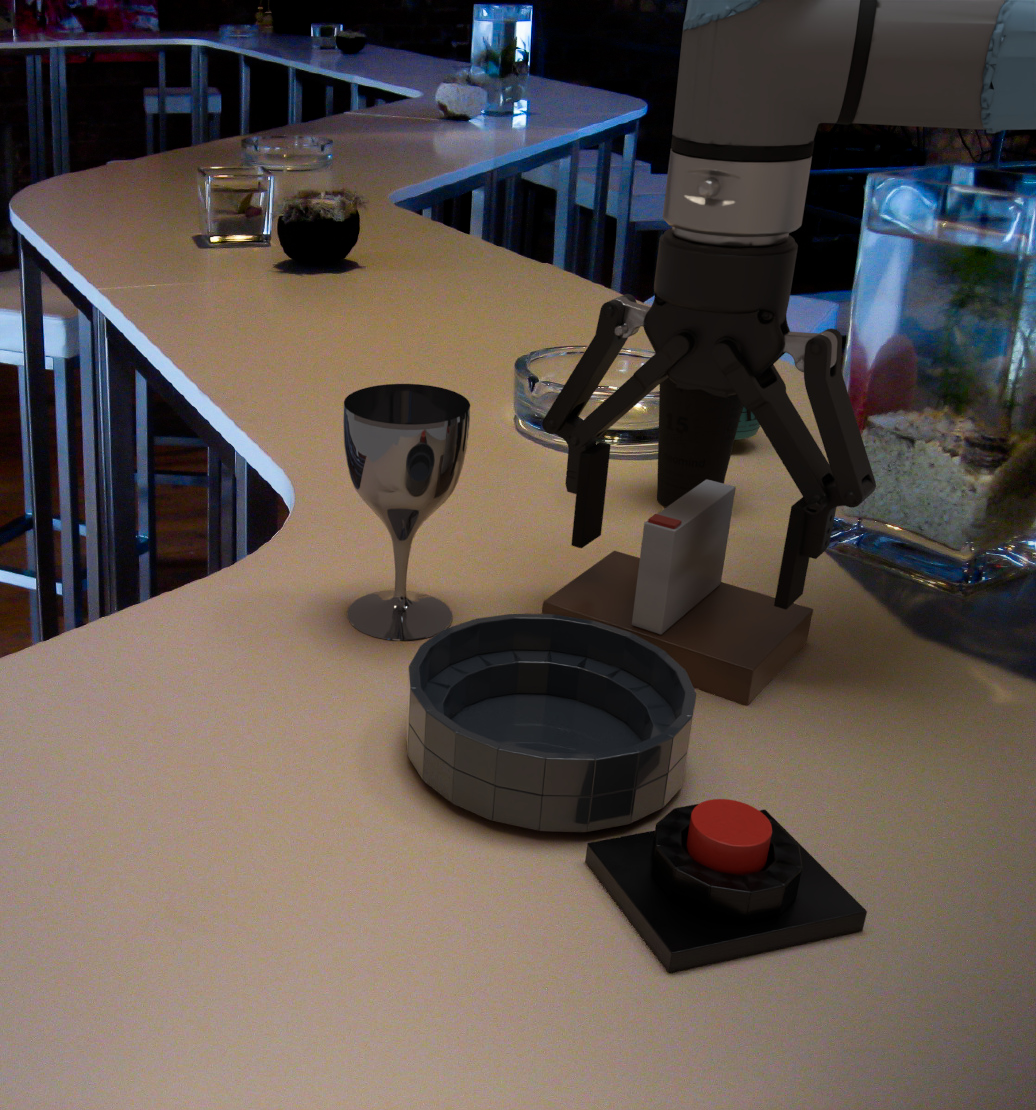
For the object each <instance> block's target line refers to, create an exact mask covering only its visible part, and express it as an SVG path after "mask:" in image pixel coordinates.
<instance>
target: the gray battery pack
mask: <svg viewBox="0 0 1036 1110" xmlns="http://www.w3.org/2000/svg"><path fill="white" fill-rule="evenodd" d="M735 495H736V486H734V485H731V484H727V483H724V484H723V483H719V482H715V481H711V480H707V479H706V480H705V481H703V482H702V483H701V484H699V485H698V486H696V487H695V488H693V489H692V490H691V491H689V492H688V493H686V494H685V495H683V496H682V497H681V498H679V499H678V500H676V501H675V502H673V503H672V504H671V505H669V506H668V507H665V508H664V509H662V510H661V511H659V512H658V513H655V514H653V515H651V516H650V517H649V518H647V520H646V521H645V522H644V523H643V529H642V538H641V546H640V554H639V558H640V561H639V570H638V578H637V586H636V594H635V602H634V610H633V618H632V625H633V626H636V627H639V628H642V629H645V630H648V631H651V632H654V633H657V634H663V633H664V632H665V631H666V630H667V629H668V628H670V627H671V626H672V625H673V624H674V623H675V622H677V621H678V620H679V619H680V618H681V617H683V616H684V615H685V614H686V613H687V612H688V611H690V610H691V609H692V608H693V607H694V606H695V605H697V604H698V603H699V602H700V601H701V600H702V599H704V598H705V597H706V596H707V595H708V594H710V593H711V592H712V591H713V590H714V589H715V588H717V587H718V586H719V585H720V584H721V582H722V579H723V572H724V566H725V560H726V554H727V546H728V540H729V533H730V528H731V521H732V520H731V519H732V513H733V508H734V507H733V506H734V502H735V501H734V500H735Z"/></svg>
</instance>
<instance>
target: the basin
mask: <svg viewBox="0 0 1036 1110" xmlns="http://www.w3.org/2000/svg"><path fill="white" fill-rule="evenodd" d="M696 701H697V692H696V690H695V688H693V685H692V683H691V681H690V679H689V676H688V674H687V672H686V671H685V669H684V668H682V667H681V666H680V665H679V664H678V663H677V662H676V661H675V660H674V659H673V658H672V657H671V656H669V655H668V654H667V653H666V652H665V651H664V650H662V649H661V648H659V647H657V646H655V645H653V644H651V643H649V642H648V641H646V640H644V639H642V638H640V637H638V636H636V635H635V634H633V633H631V632H628V631H625V630H622V629H618V628H615V627H612V626H609V625H606V624H603V623H600V622H597V621H592V620H586V619H580V618H574V617H567V616H561V615H555V614H542V613H506V614H499V615H491V616H485V617H484V616H483V617H478V618H477V617H476V618H473V619H470V620H467V621H465V622H464V621H463V622H461V623H459V624H456V625H452V626H449V627H448V628H447V629H444V630H442V631H441V632H439V633H438V634H436V635H434V636H431V637H430V639H428V640H427V641H425V642H424V643H422V644H420V646H419V647H418V649H417V651H416V652H415V655H414V656H413V658H412V660H411V661H410V663H409V665H408V671H407V697H406V717H405V718H406V719H405V720H406V721H405V723H406V724H405V738H406V739H405V740H406V755H407V757H408V759H409V761H410V762H411V764H412V765H413V767H414V769H415V770H416V771H417V773H418V775H419V776H420V778H421V780H422V781H423V782H424V783H425V784H426V785H428V786H429V787H430V788H432V789H433V790H434V791H435V792H437V793H438V794H439V795H441V796H442V797H443V798H444V799H446V801H448V802H449V803H451V804H453V805H454V806H457V807H459V808H461V809H463V810H466V811H468V812H471V813H473V814H475V815H477V816H479V817H481V818H484V819H486V820H489V821H491V822H492V821H493V822H496V823H501V824H506V825H509V826H514V827H520V828H524V829H529V830H534V831H539V832H552V833H553V832H557V833H558V832H559V833H587V832H588V833H589V832H593V831H600V830H606V829H610V828H611V829H612V828H617V827H620V826H621V827H622V826H626V825H630V824H633V823H635V822H637V821H639V820H641V819H643V818H645V817H648V816H649V815H651V814H653V813H655V812H657V811H660V810H661V809H664V808H665V806H667V805H668V803H669V802H670V801H671V800H672V799H673V798H674V796H675V795H676V794H677V793H678V792H679V791H680V789H681V788H682V787H683V784H684V779H685V772H686V766H687V761H688V754H689V748H690V741H691V734H692V727H693V721H694V714H695V709H696V708H695V707H696Z"/></svg>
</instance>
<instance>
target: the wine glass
mask: <svg viewBox="0 0 1036 1110" xmlns="http://www.w3.org/2000/svg"><path fill="white" fill-rule="evenodd" d="M342 406H343V412H342V426H343V428H342V429H343V446H344V447H343V448H344V452H345V453H344V454H345V461H346V466H347V469H348V474H349V477H350V481H351V483H352V486H353V489H354V490H355V492H356V493H357V495H358V496H359V497H360V499H361V500H362V501H363V502H364V503H365V504H366V505H367V506H368V508H369V509H370V510H371V511H372V512H373V513H374V514H375V515H376V516H377V517H378V519H380V521H381V522H382V524H383V525H384V526H385V528H386V529H387V532H388V534H389V536H390V538H391V542H392V551H393V561H394V589H391V590H380V591H375V592H371V593H368V594H367V593H366V594H365V595H362V596H360V597H358V598H357V599H355V600H354V601H352V603H350V605H349V606H348V608H347V610H346V618H347V620H348V622H349V624H351V626H352V627H354V629H356V630H358V631H360V632H362V633H363V634H365V635H368V636H371V637H374V638H377V639H383V640H387V641H399V642H400V641H402V642H403V641H418V640H424V639H428V638H432V637H434V636H435V635H436V634H438V633H439V632H441V631H442V630H444V629H447V628H450V627H451V624H452V622H453V618H454V617H453V616H454V615H453V612H452V610H451V608H450V607H449V606H448V605H447V604H446V603H445V602H443V601H442V600H440V599H438V598H436V597H434V596H432V595H429V594H426V593H423V592H419V591H411V590H407V581H408V580H407V579H408V578H407V577H408V567H409V562H410V561H409V559H410V553H411V549H412V544H413V541H414V538H415V536H416V534H417V532H418V530H420V528H421V526H422V525H423V524H424V523H425V522H426V521H427V520H428V519H429V518H430V517H431V516H432V515H433V514H434V513H436V511H437V510H438V509H440V508H441V506H442V505H444V504H445V502H446V501H447V500H448V499H449V498H450V496H452V494H453V493H454V491H455V489H456V488H457V485H458V483H459V480H460V477H461V474H462V471H463V467H464V463H465V459H466V454H467V450H468V445H469V444H468V443H469V435H470V426H471V403H470V401H469V400H468V398H467V397H465V396H464V395H462V394H460V393H459V392H456V391H454V390H451V389H447V388H444V387H439V386H434V385H428V384H421V383H420V384H418V383H388V384H387V383H386V384H378V385H373V386H367V387H364V388H361V389H358V390H355V391H353V392H351V393H350V394H348V395H347V396H346V397H345V399H344V401H343V405H342Z"/></svg>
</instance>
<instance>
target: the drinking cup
mask: <svg viewBox="0 0 1036 1110" xmlns="http://www.w3.org/2000/svg"><path fill="white" fill-rule="evenodd" d="M658 395H659V397H658V398H659V399H658V439H657V441H658V443H657V475H656V476H657V479H656V480H657V482H656V483H657V484H656V485H657V486H656V499H657V502H658V503H659V504H660V505H661V506H663V507H665V508H666V507H668V506H669V505H671V504H672V503H673V502H675V501H676V500H678V499H679V498H681V497H682V496H683V495H685V494H686V493H688V492H689V491H691V490H692V489H693V488H695V487H696V486H698V485H699V484H701V483H702V482H703V481H705V480H706V479H707V480H711V481H715V482H719V483H723V484H725V480H726V475H727V471H728V469H729V468H728V467H729V464H730V460H731V456H732V451H733V447H734V444H735V436H736V432H737V428H738V424H739V420H740V416H741V411H742V407H743V404H742V402H741V401H740V399H739V397H738V396H737V394H735V395H729V396H728V397H726V398H724V397H719V396H715V395H712V394H710V393H708V392H706V391H704V390H702V389H695V390H686V389H681V388H676V384H675V383H674V382H673V381H672V380H670V378H669V377H668V378H666V379H665V380H664V381H663V382H661V383H660V384H659V393H658Z"/></svg>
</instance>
